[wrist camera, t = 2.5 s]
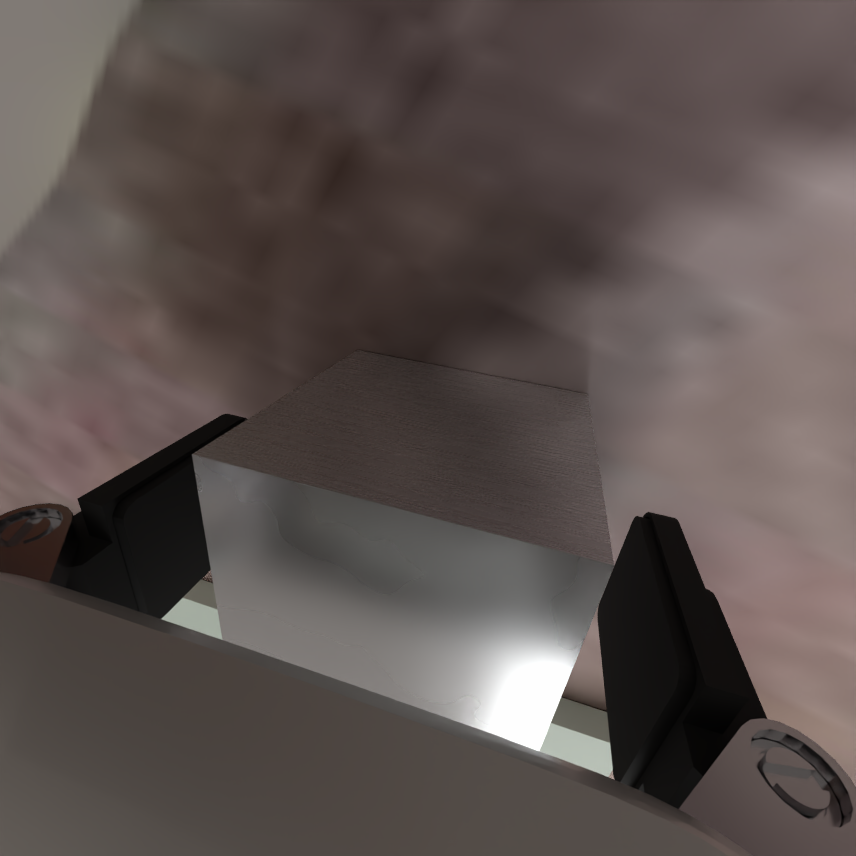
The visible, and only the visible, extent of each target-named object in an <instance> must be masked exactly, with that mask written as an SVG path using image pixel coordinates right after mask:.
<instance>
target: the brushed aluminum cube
mask: <svg viewBox="0 0 856 856" xmlns="http://www.w3.org/2000/svg"><path fill="white" fill-rule="evenodd" d="M192 458H193V464H194V470H195V476H196V483H197V489H198V495H199V501H200V507H201V513H202V519H203V525H204V531H205V537H206V543H207V549H208V555H209V561H210V568H211V574H212V580H213V586H214V592H215V598H216V604H217V610H218V616H219V622H220V628H221V634H222V640H224V641H227V642H230V643H233V644H236V645H239V646H242V647H244V648H247V649H250V650H253V651H256V652H259V653H262V654H265V655H268V656H271V657H274V658H276V659H279V660H282V661H285V662H288V663H291V664H294V665H297V666H300V667H303V668H305V669H308V670H311V671H314V672H317V673H320V674H323V675H326V676H329V677H331V678H334V679H337V680H340V681H343V682H346V683H349V684H352V685H355V686H357V687H360V688H363V689H366V690H369V691H372V692H375V693H377V694H380V695H383V696H386V697H389V698H392V699H395V700H397V701H400V702H403V703H406V704H409V705H412V706H414V707H417V708H420V709H423V710H426V711H429V712H432V713H434V714H437V715H440V716H443V717H446V718H449V719H451V720H454V721H457V722H460V723H463V724H466V725H468V726H471V727H474V728H477V729H480V730H483V731H486V732H488V733H491V734H494V735H497V736H500V737H503V738H505V739H508V740H511V741H513V742H516V743H519V744H521V745H524V746H527V747H530V748H532V749H535V750H538V751H539V750H540V748H541V745H542V743H543V740H544V738H545V735H546V733H547V730H548V728H549V725H550V723H551V721H552V718H553V716H554V713H555V711H556V708H557V706H558V703H559V701H560V698H561V696H562V693H563V691H564V688H565V686H566V683H567V681H568V679H569V676H570V674H571V671H572V669H573V666H574V664H575V661H576V659H577V656H578V654H579V651H580V649H581V646H582V644H583V641H584V639H585V636H586V634H587V632H588V629H589V627H590V624H591V622H592V619H593V617H594V614H595V612H596V609H597V607H598V604H599V602H600V599H601V597H602V594H603V592H604V590H605V587H606V585H607V582H608V580H609V577H610V575H611V572H612V570H613V567H614V561H613V555H612V548H611V542H610V535H609V529H608V522H607V516H606V509H605V503H604V496H603V490H602V483H601V477H600V470H599V464H598V457H597V451H596V444H595V438H594V431H593V425H592V418H591V412H590V405H589V399H588V394H584V393H579V392H573V391H568V390H563V389H558V388H553V387H547V386H542V385H537V384H532V383H527V382H521V381H516V380H511V379H506V378H501V377H495V376H490V375H485V374H480V373H475V372H469V371H464V370H459V369H454V368H449V367H444V366H438V365H433V364H428V363H423V362H418V361H412V360H407V359H402V358H397V357H392V356H386V355H381V354H376V353H371V352H366V351H360V350H357V351H355V352H354V353H352V354H350V355H349V356H347V357H346V358H344V359H343V360H341V361H339V362H338V363H336V364H335V365H333V366H331V367H330V368H328V369H327V370H325V371H323V372H322V373H320V374H319V375H317V376H316V377H314V378H312V379H311V380H309V381H308V382H306V383H304V384H303V385H301V386H300V387H298V388H296V389H295V390H293V391H292V392H290V393H289V394H287V395H285V396H284V397H282V398H281V399H279V400H277V401H276V402H274V403H273V404H271V405H269V406H268V407H266V408H265V409H263V410H262V411H260V412H258V413H257V414H255V415H254V416H252V417H250V418H249V419H247V420H246V421H244V422H242V423H241V424H239V425H238V426H236V427H234V428H233V429H231V430H230V431H228V432H227V433H225V434H223V435H222V436H220V437H219V438H217V439H215V440H214V441H212V442H211V443H209V444H207V445H206V446H204V447H203V448H201V449H200V450H198V451H196V452H195V453H193V454H192Z"/></svg>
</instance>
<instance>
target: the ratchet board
mask: <svg viewBox="0 0 856 856" xmlns="http://www.w3.org/2000/svg"><path fill="white" fill-rule="evenodd" d="M162 620H165V621H168V622H171V623H174V624H177V625H180V626H183V627H186V628H189V629H192V630H195V631H198V632H201V633H203V634H206V635H209V636H212V637H215V638H218V639H221V640H222V634H221V628H220V622H219V616H218V610H217V604H216V598H215V592H214V586H213V583H210V582H207V581H204V580H200V581H199V582H198V583H197V584H196V585H195V586H194V587H193V588H192V589H191V590H190V591H189V592H188V593H187V594H186V595H185V596H184V597H183V598H182V599H181V600H180V601H179V602H178V603H177V604H176V605H175V606H174V607H173V608H172V609H171V610H170V611H169V612H168V613H167V614H166V615H165V616H164V617H163V618H162ZM539 751H540V752H543V753H546V754H548V755H551V756H554V757H557V758H559V759H562V760H565V761H567V762H570V763H573V764H575V765H578V766H581V767H583V768H586V769H589V770H592V771H594V772H597V773H599V774H602V775H604V776H606V777H609V775H610V773H611V771H612V770H613V767H612V757H611V747H610V737H609V727H608V717H607V712H605V711H602V710H599V709H595V708H592V707H589V706H586V705H583V704H580V703H577V702H574V701H571V700H568V699H565V698H562V697H561V698H560V701H559V703H558V706H557V708H556V711H555V713H554V716H553V718H552V721H551V723H550V725H549V728H548V730H547V733H546V735H545V738H544V740H543V743H542V745H541V748H540V750H539Z"/></svg>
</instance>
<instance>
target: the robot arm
mask: <svg viewBox="0 0 856 856" xmlns="http://www.w3.org/2000/svg"><path fill="white" fill-rule="evenodd" d="M246 420H247V418H243V417H239V416H234V415H230V414H224V415H221V416H219V417H218V418H216V419H214V420H213V421H211V422H209V423H207V424H206V425H204V426H202V427H201V428H199V429H197V430H195V431H194V432H192V433H190V434H188V435H187V436H185V437H183V438H182V439H180V440H178V441H176V442H175V443H173V444H171V445H170V446H168V447H166V448H164V449H163V450H161V451H159V452H157V453H156V454H154V455H152V456H151V457H149V458H147V459H145V460H144V461H142V462H140V463H138V464H137V465H135V466H133V467H132V468H130V469H128V470H126V471H125V472H123V473H121V474H120V475H118V476H116V477H114V478H113V479H111V480H109V481H107V482H106V483H104V484H102V485H101V486H99V487H97V488H95V489H94V490H92V491H90V492H88V493H87V494H85V495H83V496H82V497H80V498H78V502H79V505H80V508H81V512H79V513H77V514H76V515H74V516H73V513H72V512H71V510H70V509H69V508H68V507H66V506H63V505H61V504H52V503H46V504H35V505H30V506H25V507H21V508H18V509H15V510H12V511H9V512H6V513H4V514H2V515H0V856H856V787H855V785H854V783H853V782H852V780H851V778H850V777H849V776H848V775H847V774H846V772H845V771H844V770H843V769H842V768H841V766H840V765H839V764H838V763H837V762H836V761H835V759H833V758H832V757H831V756H830V755H829V754H828V753H827V752H826V751H825V750H824V749H822V748H821V747H820V746H819V745H818V744H817V743H815V742H814V741H813V740H811V739H810V738H808V737H807V736H805V735H804V734H802V733H801V732H799V731H798V730H796V729H794V728H791V727H789V726H787V725H785V724H783V723H781V722H778V721H773V720H769V719H767V717H766V715H765V712H764V710H763V708H762V705H761V703H760V701H759V698H758V696H757V693H756V691H755V689H754V686H753V684H752V682H751V679H750V677H749V674H748V672H747V670H746V667H745V665H744V663H743V660H742V658H741V655H740V653H739V651H738V648H737V646H736V643H735V641H734V639H733V636H732V634H731V632H730V629H729V627H728V624H727V622H726V620H725V617H724V615H723V613H722V610H721V608H720V605H719V603H718V601H717V599H716V597H715V595H714V594H713V593H712V592H711V591H709V590H707V589H705V586H704V584H703V581H702V579H701V576H700V574H699V571H698V569H697V566H696V564H695V561H694V559H693V556H692V554H691V551H690V549H689V546H688V544H687V541H686V539H685V536H684V534H683V531H682V529H681V526H680V524H679V522H678V520H677V519H675V518H672V517H668V516H663V515H659V514H655V513H650V512H647V513H646V514H645V515H644V516H643V517H639V516H636V517H635V518H634V520H633V522H632V524H631V527H630V529H629V531H628V534H627V536H626V539H625V541H624V544H623V546H622V549H621V551H620V554H619V556H618V559H617V561H616V563H615V566H614V568H613V571H612V573H611V576H610V578H609V581H608V583H607V586H606V588H605V591H604V593H603V595H602V598H601V600H600V603H599V607H598V627H599V637H600V647H601V657H602V667H603V677H604V687H605V697H606V707H607V717H608V727H609V737H610V747H611V757H612V767H613V775H614V779H615V780H614V779H611V778H609V777H606V776H604V775H602V774H599V773H597V772H594V771H592V770H589V769H586V768H583V767H581V766H578V765H575V764H573V763H570V762H567V761H565V760H562V759H559V758H557V757H554V756H551V755H548V754H546V753H543V752H540V751H538V750H535V749H532V748H530V747H527V746H524V745H521V744H519V743H516V742H513V741H511V740H508V739H505V738H503V737H500V736H497V735H494V734H491V733H488V732H486V731H483V730H480V729H477V728H474V727H471V726H468V725H466V724H463V723H460V722H457V721H454V720H451V719H449V718H446V717H443V716H440V715H437V714H434V713H432V712H429V711H426V710H423V709H420V708H417V707H414V706H412V705H409V704H406V703H403V702H400V701H397V700H395V699H392V698H389V697H386V696H383V695H380V694H377V693H375V692H372V691H369V690H366V689H363V688H360V687H357V686H355V685H352V684H349V683H346V682H343V681H340V680H337V679H334V678H331V677H329V676H326V675H323V674H320V673H317V672H314V671H311V670H308V669H305V668H303V667H300V666H297V665H294V664H291V663H288V662H285V661H282V660H279V659H276V658H274V657H271V656H268V655H265V654H262V653H259V652H256V651H253V650H250V649H247V648H244V647H242V646H239V645H236V644H233V643H230V642H227V641H224V640H221V639H218V638H215V637H212V636H209V635H206V634H203V633H201V632H198V631H195V630H192V629H189V628H186V627H183V626H180V625H177V624H174V623H171V622H168V621H165V620H162V618H163V617H164V616H165V615H166V614H167V613H168V612H169V611H170V610H171V609H172V608H173V607H174V606H175V605H176V604H177V603H178V602H179V601H180V600H181V599H182V598H183V597H184V596H185V595H186V594H187V593H188V592H189V591H190V590H191V589H192V588H193V587H194V586H195V585H196V584H197V583H198V582H199V581H200V580H201V579H202V578H203V577H204V576H205V575H206V574H207V573H208V572H209V571H210V570H211V568H210V561H209V555H208V549H207V543H206V537H205V531H204V525H203V519H202V513H201V507H200V501H199V495H198V489H197V483H196V476H195V470H194V464H193V458H192V454H193V453H195V452H196V451H198V450H200V449H201V448H203V447H204V446H206V445H207V444H209V443H211V442H212V441H214V440H215V439H217V438H219V437H220V436H222V435H223V434H225V433H227V432H228V431H230V430H231V429H233V428H234V427H236V426H238V425H239V424H241V423H242V422H244V421H246Z"/></svg>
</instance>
